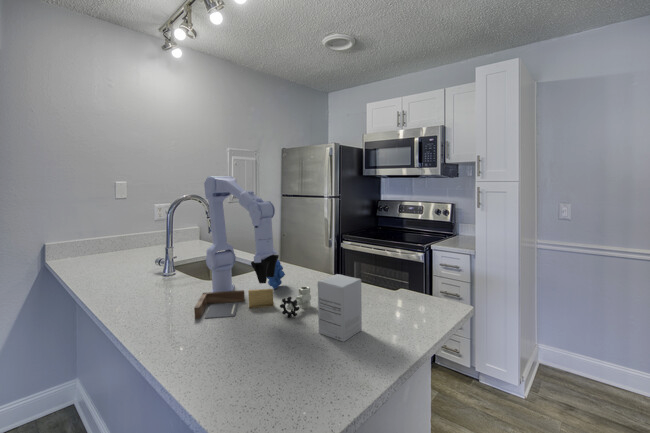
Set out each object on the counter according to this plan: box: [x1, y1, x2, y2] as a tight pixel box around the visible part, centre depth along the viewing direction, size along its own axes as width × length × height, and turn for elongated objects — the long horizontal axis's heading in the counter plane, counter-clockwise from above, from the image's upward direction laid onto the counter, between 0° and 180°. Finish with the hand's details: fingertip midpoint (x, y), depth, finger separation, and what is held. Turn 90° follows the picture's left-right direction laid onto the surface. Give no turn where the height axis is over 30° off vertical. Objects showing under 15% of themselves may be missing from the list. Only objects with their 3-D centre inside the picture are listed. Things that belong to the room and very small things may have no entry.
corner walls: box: [193, 289, 246, 320], centre depth 109 cm, size 14×14×4 cm
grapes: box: [267, 259, 286, 290], centre depth 128 cm, size 12×7×12 cm, turn 162°
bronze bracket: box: [248, 288, 274, 309], centre depth 112 cm, size 8×5×6 cm, turn 100°
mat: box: [204, 302, 239, 320], centre depth 107 cm, size 11×9×1 cm
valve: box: [279, 285, 312, 319], centre depth 106 cm, size 7×7×12 cm
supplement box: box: [317, 273, 363, 343], centre depth 91 cm, size 9×9×15 cm
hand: (266, 279), depth 107 cm, fingers open, 7 cm apart
